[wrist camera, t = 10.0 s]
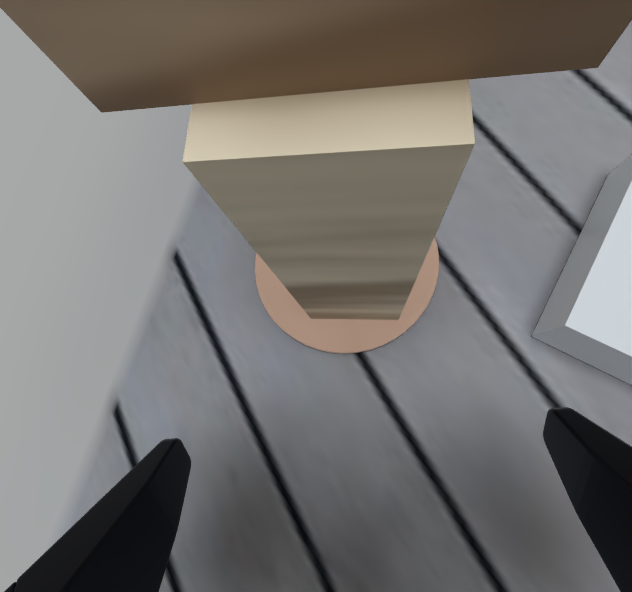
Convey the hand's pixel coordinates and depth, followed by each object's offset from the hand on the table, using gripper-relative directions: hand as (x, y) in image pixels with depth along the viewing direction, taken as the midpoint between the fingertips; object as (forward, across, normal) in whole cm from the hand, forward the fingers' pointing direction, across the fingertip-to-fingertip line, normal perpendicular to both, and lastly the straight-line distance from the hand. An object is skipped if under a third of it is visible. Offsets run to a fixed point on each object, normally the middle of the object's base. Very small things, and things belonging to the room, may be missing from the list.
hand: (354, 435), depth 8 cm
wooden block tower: (+11, 0, +1) cm, 11 cm away
